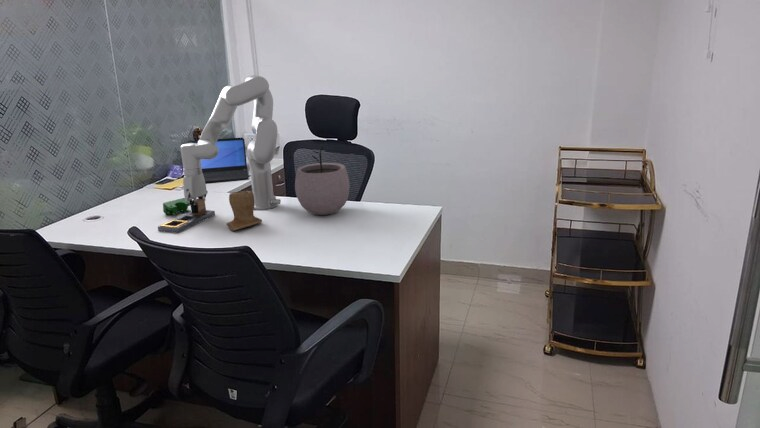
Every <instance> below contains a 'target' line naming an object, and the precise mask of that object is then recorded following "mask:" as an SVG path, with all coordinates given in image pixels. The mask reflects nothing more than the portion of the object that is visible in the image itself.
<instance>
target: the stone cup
mask: <svg viewBox="0 0 760 428" xmlns="http://www.w3.org/2000/svg"><path fill="white" fill-rule="evenodd" d="M228 202H229V206H230V209H231V210H232V213H233V219H232V220H231V221H229V222H226V226H227V228H228V229H229V230H230V231H233V232H234V231H237V230H242V229H245V228H248V227H251V226H255V225H257V224H260V223H262V222H263V219H261V218H259V217H257V216H255V213H254V210H255V209H254V204H255V200H254V195H253V192H252V190H243V191H235V192H231V193H229V196H228Z"/></svg>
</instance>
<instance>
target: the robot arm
mask: <svg viewBox="0 0 760 428" xmlns="http://www.w3.org/2000/svg"><path fill="white" fill-rule="evenodd" d="M252 101H253V113H252V120H251V126H250V127H251V132H252V133H253V134H254V135H255V137H254V138H255V139H253V140H251V141H250V142H249V143H248V144H247V147H246V157H247V161H248V165H249V172H250V182H251V192H252V193H253V195H254V200H255V204H254V210H255V211H256V210H257V211H261V210H262V211H263V210H270V209H273V208H276V207H278V205H281V202H282V201H281V199H280V198H277V196H276V195H274V188H273V177H272V168H271V167H272V166H271V162H272V161H273V159H274V157H275V155H276V148H277V142H278V141H277V140H278V126H277V123H276V121H274V120H273V116H274V115H273V114H274V113H273V111H274V97H273V95H272V92H271V90H270V84H269V82H268V80H267V79H266V78H265V77H263V76H260V75H249V76H247V77H246V78H245V80H244V82H241V83H239V84H235V85H232V84H230V85H229V84H228V85H226V86H224V87H223V88H222V90H221V92H220V93H219V96H218V99H217V100H216V103H215V106H214V108H213V111H212V113H211V116H210V117H209V119H208V120H207V123H206V124H205V126H204V128H203V130H202V132H201V135H200V137H199V139H198V140H199V141H198V144H196V143H189V142H187V143H183V144H181V145H180V155H181V162H182V167H183V175H184V176H183V182H182V183H183V185H182V187H183V195H184V198H185V201H186V202H188V203H189V204H190V212H191V211H192V213H196V214H197V213H198V207H197V205H196V199H205V200H206V197H207V195H208V192H209V191H208V190H207V183H205V179H204V176H203V173H202V167H201V160H200V159H213V158H215V157H216V156H217V155H218V152H219V150H218V147H217V146H216V142H217V140H218V139H220V136H221V134H222V133H223V131H224V130H226V129H227V128H228V127H229V125H231V122H232V120H233V117H234V115H235V113H236V111H237V107H239V106H243V105H245V104H249V103H250V102H252ZM192 200H193V201H192Z"/></svg>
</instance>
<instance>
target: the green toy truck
mask: <svg viewBox="0 0 760 428" xmlns="http://www.w3.org/2000/svg"><path fill="white" fill-rule="evenodd" d="M189 207H191V205H190V204H189V203H188V202H186V201H185V197H181V198H179V199H178V198H177V199H172V200H169V201H165V202H163V203H162V211H163V213H164V214H165V215H167V216H169V215H172V214H173V215H175V216H177V215H178V213H180V212H184V213H186V212H187V213H188V209H189ZM179 211H180V212H179Z"/></svg>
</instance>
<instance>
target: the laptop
mask: <svg viewBox="0 0 760 428" xmlns="http://www.w3.org/2000/svg"><path fill="white" fill-rule="evenodd" d="M198 141H199V139H196V140H189V142H188V143H196V144H198ZM245 143H246V142H245V139H244V137H232V138H231V137H229V138H228V137H227V138H218V140H217V142H216V146H217V147H218V150H219V152H218V155H217V156H216V157H215V158H213V159H200V160H201V167H202V173H203V176H204V179H205V184H211V183H212V184H213V183H222V182H223V183H225V182H235V181H236V182H237V181H245V180H248V179H249V173H248V172H249V171H248V163H247V150H246V144H245Z"/></svg>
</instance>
